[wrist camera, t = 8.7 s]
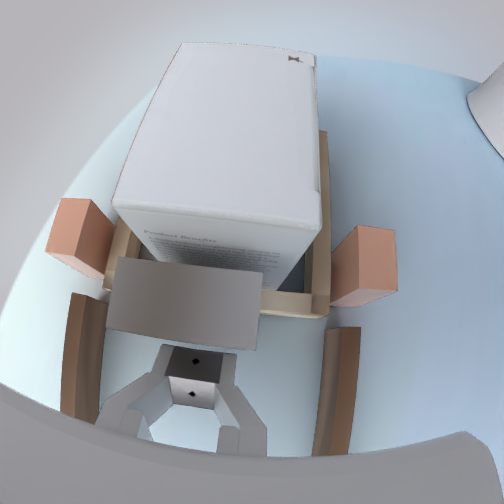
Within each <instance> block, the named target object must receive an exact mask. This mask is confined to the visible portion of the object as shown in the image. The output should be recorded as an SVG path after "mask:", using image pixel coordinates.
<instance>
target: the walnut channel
mask: <svg viewBox="0 0 504 504" xmlns="http://www.w3.org/2000/svg"><path fill="white" fill-rule="evenodd" d="M108 307H109V304H106V303H104V302H101V301H99V300H96V299H94V298H92V297H89V296H87V295H82V294H77V293H72V295H71V301H70V307H69V313H68V319H67V326H66V334H65V342H64V351H63V362H62V376H61V401H60V412H62V413H64V414H67V415H69V416H72V417H74V418H77V419H79V420H82V421H85V422H88V423H90V424H93V425H95V422H96V420H97V418H98V411H99V390H100V376H101V364H102V354H103V345H104V337H105V329H106V328H105V327H106V320H107V313H108ZM360 337H361V327H343V326H342V327H338V328H334V329H329V330H325V338H324V352H323V364H322V375H321V386H320V395H319V404H318V413H317V421H316V428H315V436H314V443H313V449H312V456H311V457H315V456H333V455H345V454H348V448H349V442H350V436H351V429H352V422H353V415H354V407H355V399H356V389H357V379H358V368H359V354H360Z"/></svg>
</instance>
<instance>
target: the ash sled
mask: <svg viewBox="0 0 504 504" xmlns="http://www.w3.org/2000/svg"><path fill="white" fill-rule="evenodd" d="M319 162H320V189H321V206H322V228H321V230H320V232H319V233H318V235H317V236H316V237H315V239H314V240H313V241H312V243H311V244H310V246H309V247H308V249H307V250H306V251H305V274H304V293H294V292H283V291H272V290H262V280H263V273H260V272H250V271H241V270H231V269H222V268H213V267H204V266H195V265H187V264H178V263H169V262H161V261H153V260H145V259H138V256H139V251H140V247H141V241H140V239H139V238H138V237H137V236H136V235H135V233H134V232H133V231H132V230H131V229H130V228H129V227H128V225H127V224H126V223H125V222H124V220H123V219H122V218H121V217H120V216H119V218H118V221H117V225H116V229H115V233H114V237H113V241H112V245H111V249H110V253H109V258H108V262H107V267H106V271H105V276H104V281H103V286H102V288H104V289H105V290H107V291H109V292H111V295H110V301H109V307H108V313H107V320H106V327H105V328H110V329H114V330H119V331H124V332H128V333H133V334H139V335H144V336H149V337H155V338H161V339H167V340H173V341H179V342H186V343H193V344H200V345H207V346H215V347H223V348H232V349H242V350H252V351H256V345H257V335H258V324H259V314H265V315H276V316H288V317H301V318H316V319H319V318H322V317H325V316H327V315H329V312H330V285H331V203H330V176H329V158H328V143H327V132H325V131H320V130H319Z"/></svg>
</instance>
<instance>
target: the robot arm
mask: <svg viewBox="0 0 504 504" xmlns="http://www.w3.org/2000/svg"><path fill="white" fill-rule="evenodd" d="M467 101H468V105H469V108H470V110H471V112H472V114H473V116H474V118H475V120H476V121H477V123H478V125H479V126H480V128H481V129H482V131H483V132H484V134H485V135H486V137H487V138H488V139H489V141H490V142H491V143H492V145H493V146H494V147H495V149H496V150H497V151H498V152H499V153H500V155H501V156H502V157H503V158H504V63H502V65H500V66H499V68H498V69H497V70H496V71H495V72H494V73H493V74H492V75H491V76H490V77H489V78H488V79H487V80H486V81H485V82H483V83H482V84H480V85H479V86H478V87H477V88H476V89H475V90H473V91H472V92H470V93H469V94H468V96H467ZM236 358H237V354H232V353H223V352H214V351H206V350H196V349H190V348H185V347H179V346H173V345H167V344H162V346H161V347H160V350H159V353H158V355H157V358H156V360H155V363H154V366H153V368H152V371H151V373H148V372H147V373H146V374H144V375H143V376H141V377H140V378H138V379H137V380H135V381H134V382H132V383H131V384H129V385H128V386H126V387H125V388H123V389H122V390H120V391H119V392H117V393H116V394H114V395H112V396H111V397H109V398H108V399H106V400H105V402H104V404H103V406H102V408H101V411H100V413H99V415H98V418H97V420H96V422H95V425H93V424H90V423H88V422H85V421H82V420H79V419H77V418H74V417H72V416H69V415H67V414H64V413H62V412H59V411H57V410H55V409H52V408H50V407H48V406H46V405H43V404H41V403H39V402H37V401H35V400H33V399H31V398H29V397H27V396H25V395H23V394H21V393H19V392H17V391H15V390H13V389H12V388H10V387H8V386H6V385H4V384H3V383H1V382H0V504H504V499H503V494H502V489H501V484H500V480H499V476H498V473H497V469H496V466H495V463H494V459H493V456H492V454H491V452H490V450H489V448H488V447H487V446H486V445H485V444H484V443H483V442H481V441H480V440H479V439H477V438H476V437H475V436H473V435H472V434H470V433H468V432H466V431H461V432H456V433H453V434H450V435H446V436H443V437H439V438H436V439H432V440H428V441H424V442H419V443H415V444H410V445H406V446H401V447H395V448H390V449H384V450H378V451H371V452H363V453H355V454H345V455H333V456H315V457H267V428H266V426H265V425H264V424H263V422H262V421H261V419H260V418H259V417H258V415H257V414H256V412H255V411H254V410H253V408H252V407H251V405H250V404H249V402H248V401H247V399H246V398H245V397H244V395H243V394H242V392H241V391H240V389H239V388H238V386H234V378H235V368H236ZM173 404H179V405H185V406H193V407H199V408H205V409H211V410H214V412H215V414H216V416H217V417H218V419H219V421H220V423H221V425H222V427H220V430H219V437H218V444H217V451H216V453H215V452H208V451H201V450H194V449H188V448H182V447H177V446H171V445H167V444H162V443H157V442H154V441H153V438H152V436H151V433H150V431H149V428H148V427H149V426H151V425H152V424H153V423H154V422H155V421H156V420H157V419H158V418H159V417H160V416H161V415H163V414H164V413H165V412H166V411H167V410H168V409H169V408H170V407H171V406H172V405H173Z"/></svg>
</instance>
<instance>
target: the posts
mask: <svg viewBox="0 0 504 504" xmlns="http://www.w3.org/2000/svg"><path fill="white" fill-rule="evenodd" d="M115 229H116V227H115V226H114V225H113V224H112V223H111V222H110V220H109V219H108V218H107V217H106V216H105V215H104V214H103V213H102V211H101V210H100V209H99V208H98V207H97V206H96V204H95V203H94V202H93V201H92V200H91V199H77V198H62V199H61V202H60V204H59V207H58V210H57V213H56V216H55V219H54V222H53V226H52V229H51V232H50V236H49V239H48V242H47V246H46V250H45V252H46V253H48V254H50V255H51V256H53V257H54V258H56V259H58V260H59V261H61V262H63V263H65V264H66V265H68V266H70V267H71V268H73V269H75V270H77V271H78V272H80V273H82V274H84V275H86V276H87V277H93V278H99V279H104V276H105V271H106V267H107V262H108V258H109V253H110V249H111V245H112V241H113V237H114V233H115ZM396 291H398V285H397V262H396V247H395V235H394V230H389V229H383V228H376V227H370V226H363V225H357V226H356V227H355V228H354V229H353V231H352V232H351V233H350V234H349V235H348V236H347V237H346V238H345V239H344V240H343V241H342V242H341V244H340V245H339V246H338V247H337V248H336V249H335V250H334V251H333V252H332V253H331V285H330V306H344V307H359V306H362V305H364V304H367V303H369V302H372V301H374V300H377V299H379V298H382V297H384V296H387V295H389V294H392V293H394V292H396Z"/></svg>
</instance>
